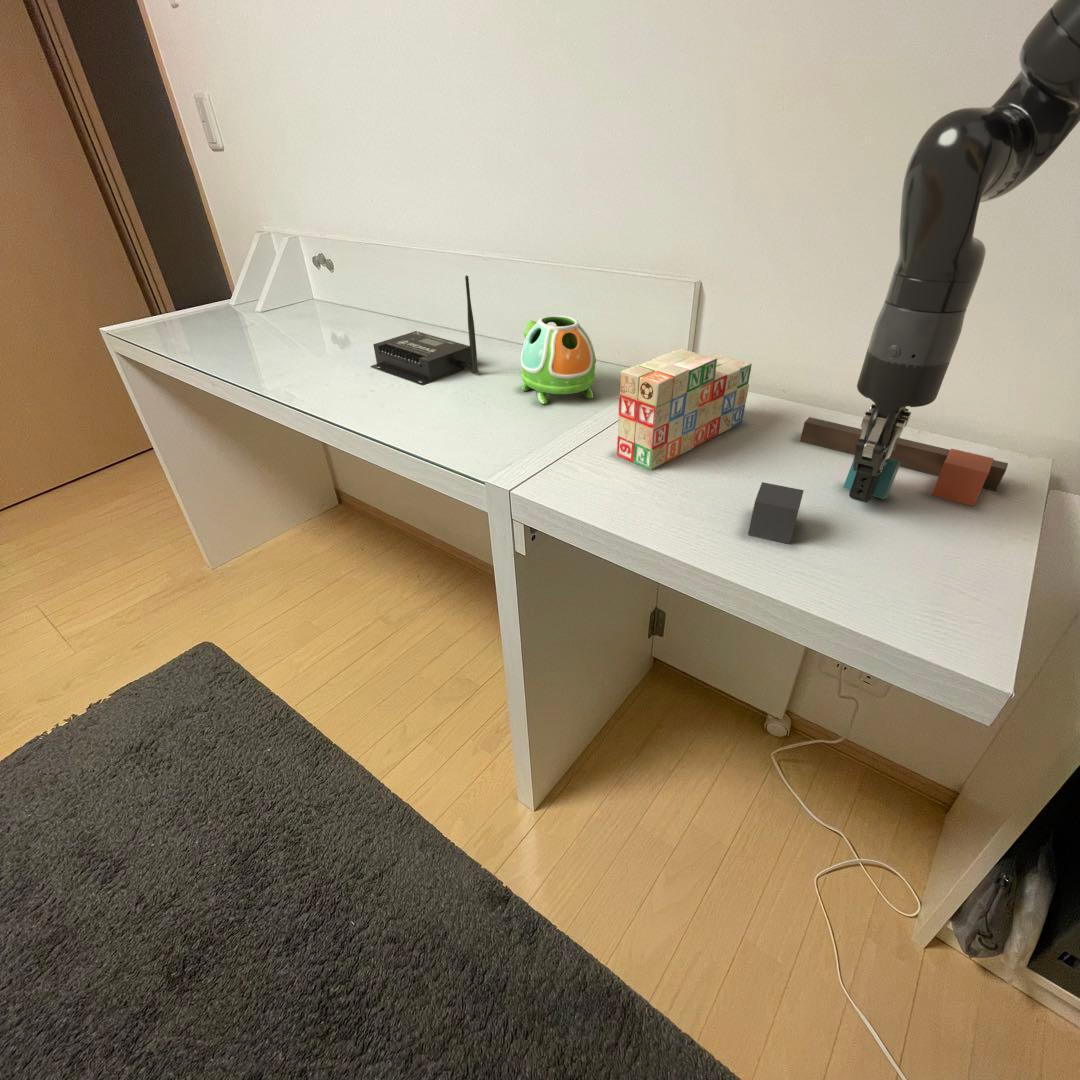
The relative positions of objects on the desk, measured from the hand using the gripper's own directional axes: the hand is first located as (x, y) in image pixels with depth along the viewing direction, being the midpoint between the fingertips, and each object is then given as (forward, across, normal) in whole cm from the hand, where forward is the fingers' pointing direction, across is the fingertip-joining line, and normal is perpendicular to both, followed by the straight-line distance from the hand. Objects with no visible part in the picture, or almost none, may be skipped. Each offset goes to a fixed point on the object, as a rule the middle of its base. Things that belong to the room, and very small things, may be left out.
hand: (859, 497), depth 71 cm
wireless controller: (+2, +6, +78) cm, 78 cm away
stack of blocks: (+2, +6, +25) cm, 26 cm away
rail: (+2, +15, -1) cm, 15 cm away
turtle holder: (+2, +11, +52) cm, 54 cm away
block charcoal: (+2, -10, +7) cm, 12 cm away
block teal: (+1, +3, 0) cm, 3 cm away
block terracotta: (+2, +11, -9) cm, 14 cm away
